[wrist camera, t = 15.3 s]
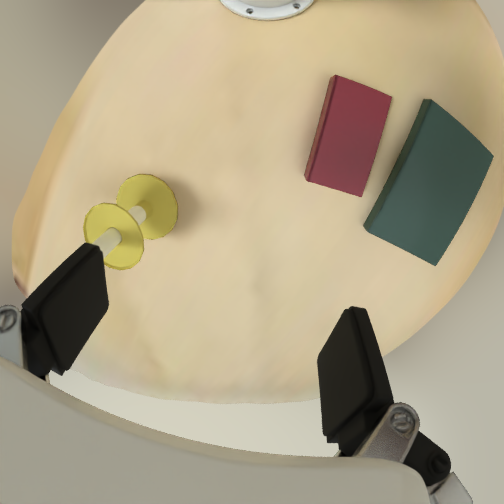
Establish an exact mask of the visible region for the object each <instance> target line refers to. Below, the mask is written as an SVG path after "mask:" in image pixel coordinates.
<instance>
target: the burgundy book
mask: <svg viewBox="0 0 504 504" xmlns="http://www.w3.org/2000/svg"><path fill="white" fill-rule="evenodd" d="M391 99H392V97H391V96H389V95H387V94H384V93H382V92H380V91H377V90H375V89H373V88H370V87H368V86H365V85H363V84H360V83H357V82H355V81H352V80H349V79H346V78H344V77H341V76H338V75H334V76H333V77H331V78H330V81H329V85H328V89H327V93H326V97H325V101H324V104H323V108H322V112H321V116H320V120H319V123H318V127H317V131H316V134H315V138H314V142H313V145H312V149H311V152H310V156H309V160H308V163H307V167H306V170H305V174H304V176H305V178H306V181H308V182H312V183H316V184H319V185H323V186H326V187H329V188H333V189H336V190H339V191H343V192H346V193H349V194H352V195H355V196H359V197H362V194H363V191H364V189H365V186H366V183H367V180H368V177H369V174H370V171H371V168H372V165H373V162H374V159H375V155H376V152H377V149H378V146H379V142H380V139H381V136H382V132H383V129H384V125H385V122H386V118H387V114H388V111H389V107H390V103H391Z"/></svg>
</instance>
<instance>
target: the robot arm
mask: <svg viewBox="0 0 504 504" xmlns="http://www.w3.org/2000/svg"><path fill="white" fill-rule="evenodd" d="M220 1H221V3H222V4H223V5H224V6H225V7H226V8H228V9H229V10H231V11H232V12H234V13H236V14H238V15H240V16H243V17H246V18H250V19H256V20H280V19H284V18H289V17H292V16H294V15H297V14H299V13H301V12H302V11H304V10H305V9H307V8H308V7H309V6H310V5H311V4H312V3H313V1H314V0H220ZM295 7H298V9H296V8H295ZM249 12H253V13H251V14H248V13H249ZM108 306H109V301H108V294H107V286H106V278H105V269H104V258H103V252H102V251H101V250H100V247H99V246H98V245H94V244H91V243H84V244H83V245H82V246H80V247H79V248H78V249H77V250H76V251H75V252H74V253H73V254H72V255H70V256H69V257H68V258H67V259H66V260H65V261H64V262H63V263H62V264H61V265H60V266H59V267H58V268H57V269H56V270H55V271H53V272H52V273H51V274H50V275H49V276H48V277H47V278H46V279H45V280H44V281H43V282H42V283H41V284H40V285H39V286H38V287H37V289H36V290H35V291H34V292H33V293H32V294H31V295H30V296H29V297H28V298H27V299H26V300H25V301H24V302H23V303H22V308H23V309H22V310H21V311H19V309H18V308H17V307H15V306H13V305H5V306H1V307H0V504H473V500H472V498H471V496H470V495H469V493H468V492H467V490H466V489H465V487H464V486H463V485H462V483H461V482H460V480H459V479H458V477H457V476H456V475H455V473H454V472H452V473H450V469H451V462H450V458H449V456H448V454H447V453H446V452H445V451H444V450H443V449H441V448H440V447H439V446H438V445H436V444H435V443H433V442H432V441H431V440H430V439H429V438H427V437H426V436H425V435H423V434H422V433H421V432H420V431H418V430H419V426H420V422H419V421H420V420H419V417H418V414H417V413H416V411H415V410H414V409H413V408H412V407H411V406H409V405H408V404H405V403H401V402H400V403H394V400H393V395H392V391H391V387H390V384H389V380H388V376H387V373H386V369H385V366H384V362H383V359H382V356H381V353H380V349H379V346H378V343H377V340H376V337H375V334H374V331H373V328H372V325H371V322H370V319H369V316H368V313H367V311H366V309H364V308H359V307H354V306H351V307H350V308H349V309H345V310H344V312H343V313H342V315H341V317H340V319H339V321H338V322H337V324H336V326H335V328H334V329H333V331H332V333H331V335H330V336H329V338H328V340H327V342H326V343H325V345H324V347H323V348H322V350H321V352H320V353H319V355H318V359H317V365H318V376H319V387H320V400H321V412H322V427H323V428H322V429H323V434H324V436H327V443H338V445H339V451H338V452H337V453H336V454H335V456H334V457H310V456H292V455H291V456H290V455H278V454H268V453H259V452H251V451H245V450H238V449H232V448H226V447H221V446H216V445H211V444H207V443H202V442H197V441H193V440H189V439H185V438H182V437H178V436H174V435H171V434H167V433H164V432H161V431H157V430H154V429H151V428H148V427H145V426H142V425H139V424H136V423H134V422H131V421H128V420H126V419H123V418H120V417H118V416H115V415H113V414H110V413H108V412H105V411H103V410H101V409H98V408H96V407H94V406H92V405H90V404H88V403H85V402H83V401H81V400H79V399H77V398H75V397H73V396H71V395H69V394H67V393H65V392H64V391H62V390H60V389H58V388H56V387H54V386H52V385H51V384H50V381H49V375H48V374H49V372H50V370H52V371H54V372H56V373H57V374H59V375H61V376H62V375H63V373H64V372H65V370H66V371H67V370H69V369H70V367H71V366H72V364H73V363H74V361H75V359H76V358H77V356H78V354H79V353H80V351H81V350H82V348H83V346H84V345H85V343H86V342H87V340H88V339H89V337H90V336H91V334H92V333H93V331H94V329H95V328H96V326H97V325H98V323H99V322H100V321H101V319H102V318H103V316H104V315H105V313H106V312H107V310H108Z"/></svg>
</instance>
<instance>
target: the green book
mask: <svg viewBox="0 0 504 504" xmlns="http://www.w3.org/2000/svg"><path fill="white" fill-rule="evenodd" d="M493 157H494V156H493V155H492V154H491V152H490V151H489V150H488V149H487V148H486V147H485V146H484V145H483V144H482V143H481V142H480V141H479V140H478V139H477V138H476V137H475V136H474V135H473V134H472V133H470V132H469V131H468V130H467V129H466V128H465V127H464V126H463V125H462V124H461V123H459V122H458V121H457V120H456V119H455V118H454V117H453V116H451V115H450V114H449V113H448V112H447V111H445V110H444V109H443V108H442V107H440V106H439V105H438V104H437V103H435V102H434V101H433V100H431V99H424V100H423V103H422V105H421V108H420V110H419V112H418V115H417V117H416V120H415V122H414V124H413V127H412V129H411V131H410V134H409V136H408V138H407V140H406V142H405V145H404V147H403V149H402V151H401V153H400V155H399V158H398V160H397V162H396V164H395V166H394V168H393V170H392V172H391V174H390V176H389V178H388V180H387V182H386V184H385V186H384V188H383V190H382V192H381V194H380V196H379V198H378V200H377V201H376V203H375V205H374V207H373V209H372V211H371V213H370V214H369V216H368V218H367V220H366V222H365V224H364V225H363V226H364V228H365V229H366V231H367V232H369V233H371V234H373V235H375V236H377V237H379V238H381V239H383V240H385V241H387V242H389V243H391V244H393V245H395V246H397V247H399V248H401V249H403V250H405V251H407V252H409V253H411V254H413V255H415V256H417V257H419V258H421V259H423V260H425V261H427V262H428V263H430V264H432V265H434V266H436V265H437V263H438V262H439V260H440V259H441V257H442V256H443V254H444V252H445V251H446V249H447V248H448V246H449V244H450V243H451V241H452V239H453V238H454V236H455V234H456V233H457V231H458V229H459V227H460V226H461V224H462V222H463V220H464V218H465V217H466V215H467V213H468V211H469V209H470V207H471V205H472V203H473V201H474V199H475V197H476V195H477V193H478V191H479V189H480V187H481V185H482V183H483V180H484V178H485V176H486V174H487V171H488V169H489V167H490V164H491V162H492V159H493Z"/></svg>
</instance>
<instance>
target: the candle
mask: <svg viewBox="0 0 504 504" xmlns="http://www.w3.org/2000/svg"><path fill="white" fill-rule="evenodd" d="M116 201H117V204H110V203H101V204H99V205H96V206H94V207H92V208H91V209H90V211H89V212H88V213H87V215H86V216H85V220H84V225H83V231H84V237H85V241H86V243H91V244H94V245H98V246H99V247H100V250H101V251H102V252H103V258H104V265H106V266H108V267H109V268H113V269H117V270H125V269H130V268H132V267H133V266H135V265H136V264H137V263H138V262H139V261H140V259H141V256H142V254H143V251H144V240H143V238H145V239H151V240H153V239H157V238H161V237H164V236H165V235H166V234H167V233H169V232H170V231H171V230H172V229H173V227H174V224H175V222H176V220H177V214H178V205H177V202H176V199H175V196H174V193H173V192H172V190H171V189H170V188H169V187H168V186H167V184H166V183H165V182H164V181H162V180H160V179H159V178H157V177H155V176H153V175H146V174H138V175H136V176H133V177H130V178H128V179H127V180H126V181H125V182H124V184H123V185H122V186H121V187H120V189H119V192H118V195H117V198H116Z"/></svg>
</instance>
